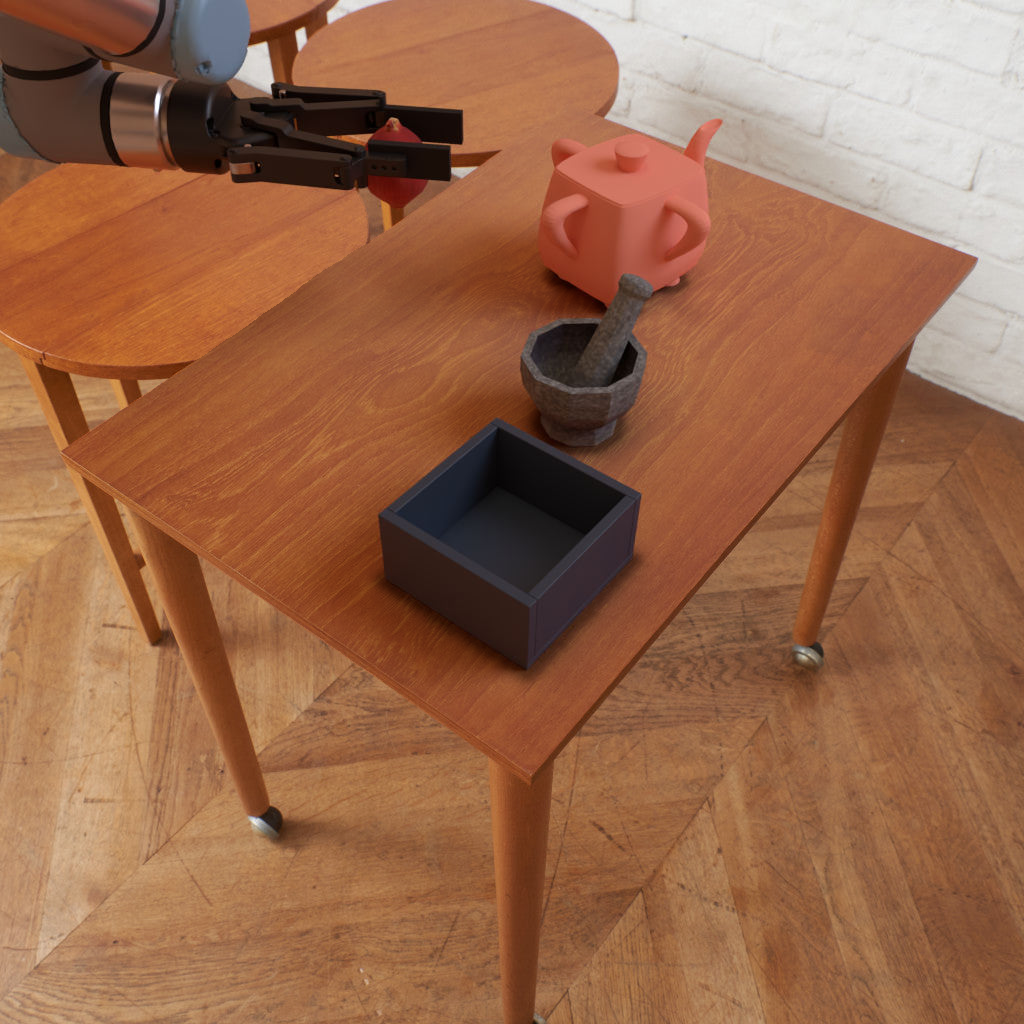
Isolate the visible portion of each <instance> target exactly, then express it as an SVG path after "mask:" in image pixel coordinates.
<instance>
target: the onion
mask: <svg viewBox="0 0 1024 1024" xmlns="http://www.w3.org/2000/svg"><path fill="white" fill-rule="evenodd" d="M369 139H373V140H386V141H400V142H413V143H423V142H422V141H421V140H420V139H419V138H418V137H417V136H416V135H415V134H414V133H413V132H412V131H410V130H409V129H407V128H406V127H404V126H402V125H401V124H400V122H399V120H398V119H396V118H390V119H389V120H388V121H387V123H386V125H385V126H384V127H382V128H380V129H379V130H377V131H376V132H375V133H374V134H371V136H370V137H369V138H368V139H367V141H366V142H365V145H364V146H365V150H366V151H368V141H369ZM428 183H429V180H422V179H409V178H396V177H383V176H370V175H368V187H366V189H368V191H369V193H370V194H372V195H373V196H375V197H376V198H377V199H379V200H380V201H382V202H384V203H385V204H387V205H389V206H390V207H391V208H393V209H396V210H401V209H403V208H405V207H406V206H407V205H408V204H409V203H411V202H412V201H413V200H414V199H416V198H417V197H418V196H419V195H421V194H422V193H423V192H424V190H425V188H426V187H427V185H428Z"/></svg>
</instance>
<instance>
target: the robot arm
mask: <svg viewBox="0 0 1024 1024" xmlns="http://www.w3.org/2000/svg"><path fill="white" fill-rule="evenodd" d="M249 11H250V10H249V7H248V4H247V2H246V0H0V62H1V64H0V149H1V150H2V151H4V152H6V153H7V154H8V155H10V156H13V157H16V158H20V159H21V158H22V159H29V160H34V161H35V160H36V161H43V162H46V163H48V164H53V165H54V164H55V165H61V164H65V165H66V164H79V165H80V164H82V165H97V166H98V165H99V166H114V167H115V166H117V167H122V168H123V167H124V168H138V169H149V170H152V171H153V172H155V173H160V172H163V171H172V172H173V171H174V172H175V171H179V170H180V169H181V170H182V171H183V172H185V173H191V174H203V175H205V174H206V175H217V176H223V175H226V174H227V173H229V172H230V178H231V181H232V183H234V184H251V183H268V184H278V185H289V186H299V187H308V188H319V189H329V190H338V191H352V190H354V189H355V187H356V188H357V189H358V190H359V189H360V190H362V189H363V190H364V189H367V187H368V175H370V176H383V177H396V178H409V179H422V180H428V181H436V182H448V183H449V182H451V180H452V145H459V146H462V145H463V143H464V109H458V108H445V107H444V108H443V107H431V106H430V107H429V106H414V105H400V104H388V103H387V93H386V91H384V90H380V89H363V88H347V87H345V88H344V87H329V86H327V87H326V86H325V87H324V86H308V85H296V84H291V83H287V82H282V81H274V82H272V83H270V90H271V94H270V95H269V96H254V97H245V98H244V97H243V98H240V97H239V96H237V95H236V94H235V93H234V91H233V90H232V88H231V86H230V85H229V84H228V83H227V82H229V81H231V80H232V79H234V77H235V76H236V75H237V74H238V73H239V71H240V70H241V68H242V67H243V65H244V63H245V61H246V57H247V56H248V52H249V51H248V48H249V43H250V39H251V32H252V31H251V30H252V29H251V28H252V27H251V17H250V12H249ZM102 61H104V62H107V63H115V64H118V65H122V66H126V67H130V68H134V69H137V70H142V71H145V72H135V71H133V72H132V71H115V70H109V69H105V68H104V67H103V63H102ZM390 118H396V119H398V120H399V122H400V124H401V125H402V126H404V127H406V128H407V129H409V130H410V131H412V132H413V133H414V134H415V135H416V136H417V137H418V138H419V139H420V140H421V141H422V143H413V142H400V141H386V140H373V139H369V138H368V140H369V141H368V140H367V141H368V151H366V150H365V145H364V144H360V143H355V142H351V141H346V140H342V139H338V138H334V137H342V136H343V137H344V136H359V135H360V136H361V135H373V134H374V133H375V132H376V131H377V130H379V129H380V128H382V127H384V126H385V125H386V123H387V121H388V120H389V119H390ZM295 121H296V123H295ZM295 124H296V125H295ZM296 128H297V129H296ZM355 182H356V184H355Z"/></svg>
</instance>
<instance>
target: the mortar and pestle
mask: <svg viewBox="0 0 1024 1024" xmlns="http://www.w3.org/2000/svg"><path fill="white" fill-rule="evenodd" d="M618 285H619V289H618V291H617V293H616V295H615V297H614V299H613V300H612V302H611V304H610V306H609V308H606V311H605V313H604V315H603V317H602V319H601V318H598V317H579V318H575V317H574V318H558V319H556V320H554V321H552V322H549V323H547V324H545V325H544V326H542V327H539V328H537V329H535V330H533V331H531V332H530V333H529V334H528V337H527V339H526V342H525V344H524V347H523V349H522V352H521V353H520V357H519V359H520V363H519V370H520V376H521V383H522V386H523V387H524V389H525V391H526V392H527V394H528V395H529V397H530V399H531V400H532V402H533V404H534V405H535V407H536V408H537V410H538V412H539V413H540V415H541V416H540V424H541V426H542V427H543V429H544V430H545V432H546V434H547V436H548V437H549V438H550V439H552V440H555V441H556V442H559V443H561V444H564V445H566V446H567V447H570V448H571V447H573V448H574V447H595V446H597V445H598V444H601V443H602V442H604V441H606V440H607V439H610V438H611V437H613V435H614V431H615V428H616V425H617V422H618V419H620V418H621V417H624V416H625V415H626V414H627V413H628V412H629V411H630V410H631V409H632V408H633V407H634V406H635V403H636V402H637V401H636V400H637V399H638V395H639V393H640V388H641V385H642V383H643V377H644V374H645V370H646V367H647V360H648V351H647V350H646V349H645V347H644V346H643V345H642V344H641V342H640V341H639V339H638V338H637V337H636V336H635V335H634V334H633V330H634V328H635V325H636V324H637V323H636V322H637V321H638V319H639V316H640V314H641V311H642V309H643V306H644V304H645V302H646V301H648V300H649V299H651V297H652V295H653V286H652V285H651V284H650V283H649V282H647V281H646V280H645V279H643V278H641V277H639V276H636V275H633V274H628V273H625V274H623V275H622V276H621V278H620V280H619V282H618Z"/></svg>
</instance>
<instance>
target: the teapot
mask: <svg viewBox="0 0 1024 1024" xmlns="http://www.w3.org/2000/svg"><path fill="white" fill-rule="evenodd" d="M723 123H724V120H723V119H722V118H713V119H711V120H708V121H706V122H704V123H703V124H701V126H700V127H698V128H697V129H696V131H695V133H694V134H693V135H692V137H691V138H690V140H689V142H688V144H687V146H686V148H685V150H684V151H683V153H681V152H679V151H676V150H675V149H673V148H671V147H669V146H667V145H666V144H663V143H661V142H659V141H657V140H654V139H652V138H650V137H648V136H646V135H643V134H641V133H637V132H635V133H634V132H633V133H628V134H624V135H621V136H618V137H614V138H612V139H609V140H606V141H603V142H600V143H598V144H597V143H596V144H594V145H592V146H590V147H587V146H586V145H584V144H582V143H580V142H578V141H576V140H575V139H570V138H558V139H557V140H555V141H554V142H553V143H552V144H551V150H550V151H551V153H550V154H551V161H552V164H553V167H554V169H553V171H552V174H551V177H550V180H549V184H548V186H547V190H546V193H545V197H544V200H543V203H542V209H541V213H540V219H539V224H538V225H539V226H538V232H537V247H538V252H539V255H540V258H541V260H542V263H543V265H544V266H545V267H547V269H550V270H551V271H552V272H553V273H555V274H556V275H557V276H558V277H559V278H560V279H561V280H563V281H566V282H568V283H570V284H571V285H573V286H575V287H576V288H577V289H579V290H580V291H583V292H584V293H586V294H588V295H589V296H591V297H592V298H594V299H596V300H599V301H600V302H602V303H603V304H604V306H605V307H606V309H608V308H609V306H610V304H611V302H612V300H613V299H614V297H615V295H616V293H617V291H618V289H619V285H618V282H619V280H620V278H621V276H622V275H623V274H625V273H628V274H633V275H636V276H639V277H641V278H643V279H645V280H646V281H647V282H649V283H650V284H651V285H652V286H653V292H657V291H658V290H660V289H662V288H664V287H674V286H677V285H678V284H679V283H680V282H681V281H680V280H681V278H680V277H681V276H683V275H684V274H686V273H687V272H689V271H690V270H691V269H692V268H693V267H695V265H696V264H698V261H699V260H700V258H701V256H702V255H703V253H704V251H705V247H706V243H707V237H708V236H709V234H710V232H711V229H712V221H711V218H710V216H709V194H708V186H707V185H708V184H707V176H706V175H707V174H706V170H705V161H706V155H707V151H708V148H709V145H710V143H711V141H712V139H713V137H714V136H715V135H716V133H717V131H718V130H720V128H721V127H722V125H723Z"/></svg>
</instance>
